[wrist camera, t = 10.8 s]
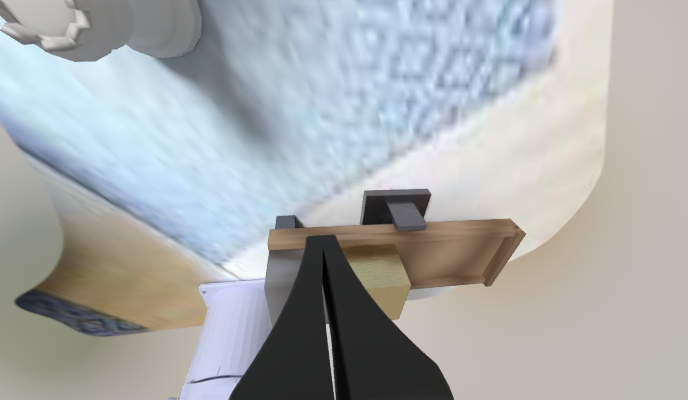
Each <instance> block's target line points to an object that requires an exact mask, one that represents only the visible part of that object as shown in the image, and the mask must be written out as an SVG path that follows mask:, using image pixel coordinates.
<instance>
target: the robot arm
mask: <svg viewBox="0 0 688 400" xmlns="http://www.w3.org/2000/svg"><path fill="white" fill-rule="evenodd" d="M264 285H265V279H259V280H246V281H234V282H221V283H208V284H201V285H200V286H199V292H200V294H201V296H202V298H203V300H204V302H205V304H206V306H207V308H208V311H207V314H206V317H205V321H204V324H203V327H202V330H201V334H200V336H199V340H198V343H197V346H196V349H195V352H194V355H193V359H192V362H191V365H190V369H189V371H188V375H187V378H186V381H185V384H184V386H183V388H182V391H181V394H180V396H179V399H178V400H334V392H333V384H332V376H331V368H330V360H329V351H328V342H327V333H326V323H325V314H324V303H323V293H322V285H323V291H324V297H325V303H326V309H327V315H328V321H329V327H330V333H331V341H332V353H333V367H334V379H335V392H336V400H454V398H453V395H452V393H451V390H450V388H449V385H448V384H447V382H446V380H445V378H444V376H443V374H442V372H441V370H440V369H439V367H438V365H437V364H436V363H435V362H434V361H433V360H431V359H430V358H429V357H428V356H427V355H426V354H425V353H423V352H422V351H421V350H420V349H419V348H418V347H417V346H416V345H415V344H414V343H413V342H412V341H411V340H410V339H409V338H408V337H407V336H406V335H405V334H404V333H402V331H401V330H400V329H399V328H398V327H397V326H396V325H395V324H394V323H393V322H392V321H391V319H390V318H389V317H388V316H387V315H386V314H385V313H384V312H383V311H382V309H381V308H380V307H379V306H378V305H377V303H376V302H375V301H374V299H373V298H372V297H371V296H370V294H369V293H368V292H367V290H366V289H365V287H364V286H363V285H362V283H361V282H360V280H359V279H358V277H357V276H356V274H355V272H354V271H353V269H352V267H351V266H350V264H349V262H348V261H347V259H346V257H345V255H344V253H343V251H342V249H341V247H340V245H339V242H338V240H337V237H336V236H335V235H316V236H308V237H306V244H305V250H304V254H303V258H302V262H301V265H300V268H299V271H298V274H297V277H296V279H295V282H294V284H293V287H292V289H291V292H290V294H289V296H288V299H287V301H286V303H285V305H284V307H283V309H282V311H281V313H280V315H279V317H278V319H277V321H276V323H275V325H274V327H273V328H272V323H271V319H270V314H269V309H268V304H267V300H266V295H265V290H264ZM168 400H177V398H175V397H170V398H169V399H168Z"/></svg>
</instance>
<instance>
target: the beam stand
mask: <svg viewBox="0 0 688 400" xmlns="http://www.w3.org/2000/svg"><path fill="white" fill-rule="evenodd" d="M430 196H431V193H430V192H429V190H428V189H409V190H374V191H364V197H363V204H362V212H361V219H360V225H381V224H394V226H395V229H396V231H411V230H425V229H426V226H427V224H426V223H425V221H424V219H423V217H424V214H425V211H426V208H427V205H428V202H429V199H430ZM293 228H296V226H295V215H294V216H277V218H276V226H275V229H293Z"/></svg>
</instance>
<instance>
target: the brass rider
mask: <svg viewBox="0 0 688 400" xmlns="http://www.w3.org/2000/svg"><path fill="white" fill-rule="evenodd" d="M341 249H342V251H343V253H344V255H345V257H346V259H347V261H348V262H349V264H350V266H351V267H352V269H353V271H354V272H355V274H356V276H357V277H358V279H359V280H360V282H361V283H362V285H363V286H364V287H365V289H366V290H367V292H368V293H369V294H370V296H371V297H372V298H373V299H374V301H375V302H376V303H377V305H378V306H379V307H380V308H381V309H382V311H383V312H384V313H385V314H386V315H387V316H388V317H389V318H390V319H391V320H396V319H399V317H400V314H401V311H402V309H403V306H404V303H405V301H406V298H407V295H408V292H409V290H410V287H411V283H410V281H409V278H408V276H407V274H406V271H405V269H404V266H403V264H402V261H401V259H400V257H399V254H398V252H397V249H396V247H395V244H383V245H366V246H350V247H341Z"/></svg>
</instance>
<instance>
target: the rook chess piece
mask: <svg viewBox="0 0 688 400" xmlns="http://www.w3.org/2000/svg"><path fill="white" fill-rule="evenodd" d="M0 16H1V17H2V18H3V19H4V20H5V21H6V22H7V23H5V24H4V25H3V27H2V28H1V29H0V31H2V32H4V33H5V34H7V35H8V36H10V37H12V38H13V39H15V40H17V41H18V42H20V43H21V44H23V45H25V44H35V45H37V46H38V47H40V48H42V49H43V50H45V52H48V53H50V54H53V55H56V56H59V57H62V58H65V59H68V60H71V61H74V62H86V61H97V60H99V59H101V58H102V57H104V56H106V55H108V54H109V53H111V51H112V49H118V48H120V47H122V46H123V45H125V44H126V45H128V46H129V47H130V48H132V49H133V50H136V51H139V52H141V53H144V54H147V55H150V56H152V57H155V58H173V57H181V56H183V55H185V54H186V53H188V52H190V51H192V50H193V49H194V47H195V46H196V44H197V42H198V41H199V39H200V37H201V28H202V16H201V12H200V9H199V5H198V1H197V0H0Z"/></svg>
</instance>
